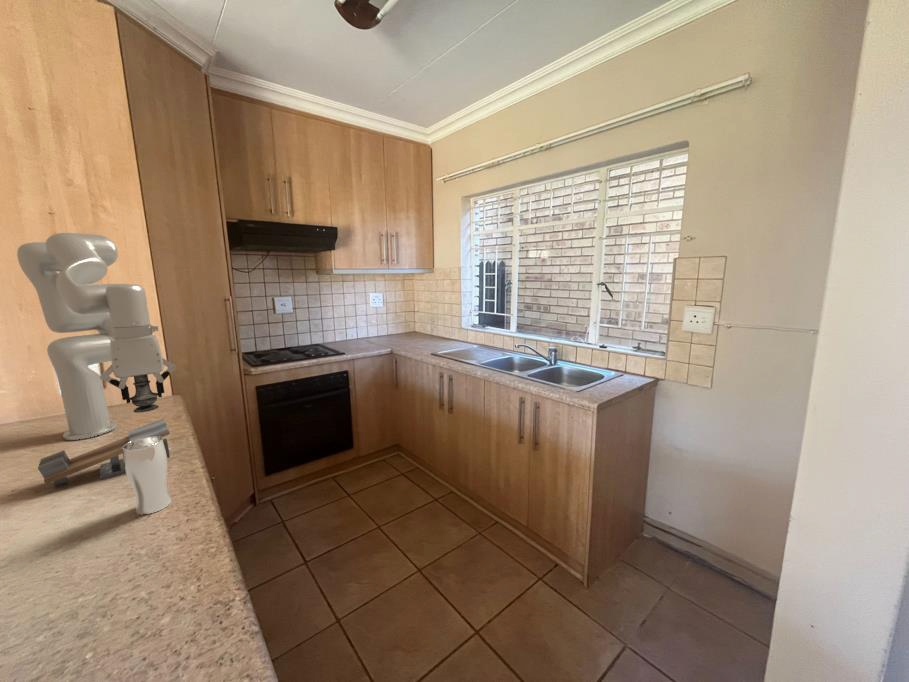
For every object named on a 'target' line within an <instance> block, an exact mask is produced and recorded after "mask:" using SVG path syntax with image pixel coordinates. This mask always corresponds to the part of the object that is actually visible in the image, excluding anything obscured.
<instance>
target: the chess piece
mask: <svg viewBox="0 0 909 682" xmlns="http://www.w3.org/2000/svg"><path fill="white" fill-rule="evenodd" d="M148 375H149V374H148ZM148 375H141V376H134V377H133V383H132V385H134V389H135V395H133V396H131V397H130V401H131V403H132V404H133V406H136V408H135V409H133V413H147V412H152V411H155V410H156V409H159V405H158V404H156V402H157V401H158V393H157V392H153V391H152V390H151V386H150V385H151V384H150V383H151V380H149V376H148Z"/></svg>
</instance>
